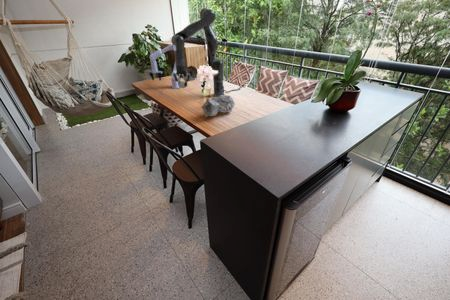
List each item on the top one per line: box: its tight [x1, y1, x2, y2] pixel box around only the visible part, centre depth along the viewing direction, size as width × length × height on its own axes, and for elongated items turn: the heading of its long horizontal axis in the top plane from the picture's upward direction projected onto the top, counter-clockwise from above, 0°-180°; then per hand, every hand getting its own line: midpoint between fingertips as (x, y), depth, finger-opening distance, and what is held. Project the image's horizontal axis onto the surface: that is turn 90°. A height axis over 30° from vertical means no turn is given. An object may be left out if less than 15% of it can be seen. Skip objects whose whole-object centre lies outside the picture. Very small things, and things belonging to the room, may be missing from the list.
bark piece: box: [186, 65, 198, 81], centre depth 260 cm, size 19×8×30 cm
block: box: [179, 80, 186, 89], centre depth 166 cm, size 4×5×4 cm
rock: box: [200, 95, 236, 118], centre depth 162 cm, size 17×17×28 cm
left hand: (156, 80), depth 217 cm, fingers open, 7 cm apart
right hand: (183, 86), depth 167 cm, fingers closed on block, 4 cm apart
